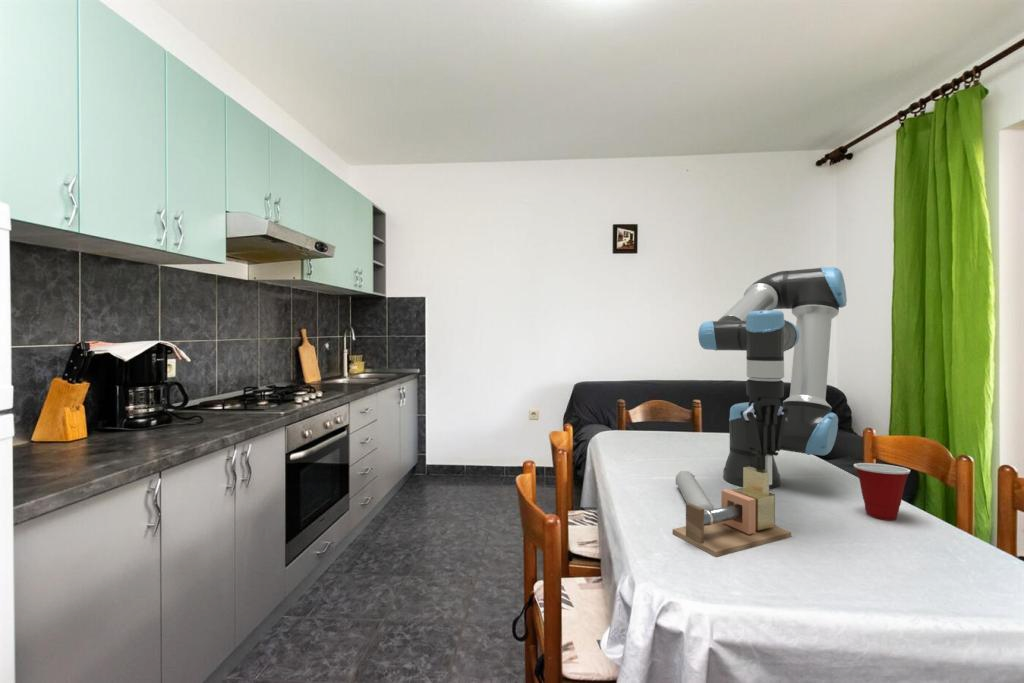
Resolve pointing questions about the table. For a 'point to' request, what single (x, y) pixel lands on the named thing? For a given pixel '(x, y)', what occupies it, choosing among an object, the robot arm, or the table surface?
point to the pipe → (722, 514)
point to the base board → (723, 534)
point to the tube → (692, 490)
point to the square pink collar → (747, 510)
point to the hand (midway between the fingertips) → (764, 483)
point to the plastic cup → (882, 488)
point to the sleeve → (758, 496)
